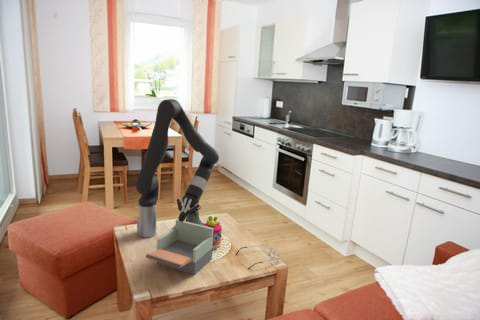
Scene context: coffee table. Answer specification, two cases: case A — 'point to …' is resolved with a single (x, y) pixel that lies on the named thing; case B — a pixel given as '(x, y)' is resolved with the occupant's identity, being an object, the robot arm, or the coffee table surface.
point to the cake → (215, 231)
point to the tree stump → (193, 219)
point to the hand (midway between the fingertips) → (180, 221)
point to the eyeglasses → (266, 250)
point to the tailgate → (169, 258)
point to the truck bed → (188, 245)
